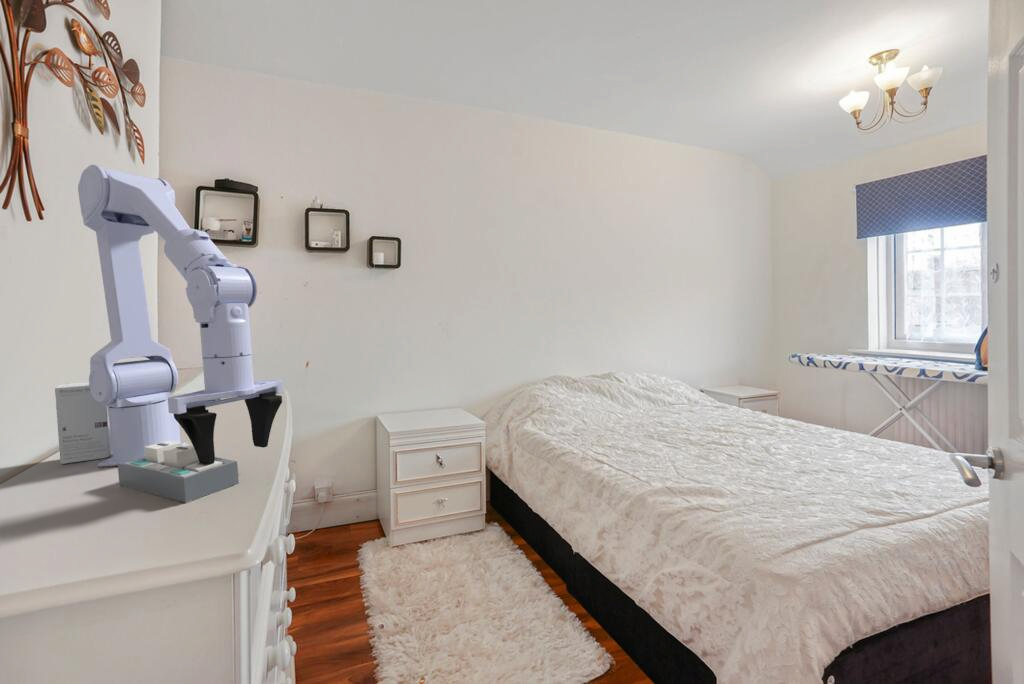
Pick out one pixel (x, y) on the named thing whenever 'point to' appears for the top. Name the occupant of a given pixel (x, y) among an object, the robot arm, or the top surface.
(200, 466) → the button
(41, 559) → the top surface
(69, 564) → the top surface
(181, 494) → the console
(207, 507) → the top surface
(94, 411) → the skincare box
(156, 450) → the button
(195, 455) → the button middle
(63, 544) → the top surface
